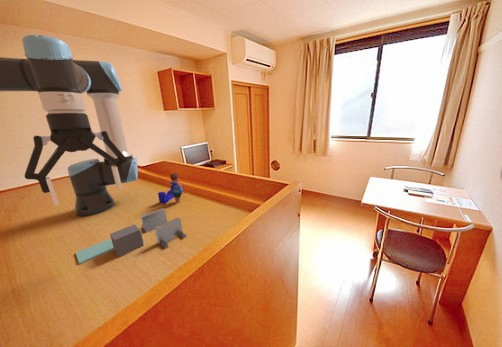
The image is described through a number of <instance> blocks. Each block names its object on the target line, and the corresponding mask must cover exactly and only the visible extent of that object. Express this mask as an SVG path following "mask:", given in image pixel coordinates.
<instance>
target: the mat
mask: <svg viewBox="0 0 502 347" xmlns="http://www.w3.org/2000/svg"><path fill="white" fill-rule="evenodd" d="M111 251H115V250H114V247H113V243H112V240H111V238H108V239H106V240H103V241H101V242H99V243H95V244H93V245H91V246H89V247H85V248H83V249H80V250H78V251H75V254H76V255H75V256H76V258H77V261H78V264H79V265H82V264H83V263H87V262H88V261H90V260H92V259H93V260H94V259H95V258H97V257H100V256H102V255H105V254H106V253H109V252H111Z"/></svg>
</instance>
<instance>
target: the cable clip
mask: <svg viewBox="0 0 502 347" xmlns="http://www.w3.org/2000/svg"><path fill="white" fill-rule="evenodd" d="M172 189H173V186H172V184H171V185H170V190H168V191H167V192H166V191H159V192H157V197H158V200H159V201H158V202H159V204H160V203H163V204H164V205H165V204H167V203H168V202H170V201H171V200H172V199H174V195H173V193H172Z"/></svg>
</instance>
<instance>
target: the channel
mask: <svg viewBox="0 0 502 347" xmlns="http://www.w3.org/2000/svg"><path fill="white" fill-rule="evenodd" d="M140 218H141V221H142V224H141V228H142V229H143V230H144V232H145V233H148V232H151V231H153V230H154V232H155V235H156V236H155V237H156V240H157V244H158V245H160V246H161V247H162V248H163V249H167V248H169V244H168V242H170V241H172V240H174V239H176V238H178V237H181V238H182V239H183V240H184V239H185V238H187V237H188V235H187V234H185V233H184V232H183V226H182V220H181V218H180V217H175V218H173V219H170V220H169V221H168V218H167V212H166V208H164V207H162V208H159V209H156V210H153V211H151V212H148V213H145V214H143V215H140Z"/></svg>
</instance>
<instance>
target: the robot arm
mask: <svg viewBox="0 0 502 347" xmlns="http://www.w3.org/2000/svg"><path fill="white" fill-rule="evenodd" d="M21 42H22V45H23V51H24V56H25V57H26V58H16V57H5V56H3V57H2V56H1V57H0V92H37V94H38V96H39V99H40V102H41V106H42V109H43V111H44V112H46V113H47V114H46V115H45V117H46V122H47V125H48V128H49V131H50V134H49V135H50V136H49V135H48V136H47V135H46V136H45V135H44V136H43V135H41V136H40V135H34V136H33V138H32V139H33V143H34V144H33V149H32V152H31V155H30V158H29V161H28V164H27V166H26V169H25V172H24V178H25V179H26V180H35V181H38V183H39V186H40V189H41V191H42V192H43V194H47V193H49V194H50V196H51V199H52V203H53V204H54V206H58V205H60V202H59V200H58V197H57V194H56V191H55V188H54V186H53V183H52V180H51V178H50V177H49V176H48V175H49V174H50V173H51V170H52V169H53V168H54V166H55V165H56V164H57V163H58V161H59V160H60V159H61V158H62V156H63V155H64V154H65V153H66V152H67V153H75V152H78V151H81V152H84V151H86V152H87V150H89V149H90V150H92V151H93V152H95V153H97V154H98V155H99V156H100V157H102V158H103V161H100V160H99V158H91V159H87V160H83V161H82V160H81V161H79V162H75V163H73V164H70V165H69V166H68V167H67V173H68V177H69V179H70V182H71V186H72V189H73V192H74V195H75V204H74V211H75V215H77V216H82V217H83V216H90V215H95V214H100V213H102V212H105V211H107V210H109V209H112V208H113V207H114V206H115V204H116V201H115V199H114V198H113V197H112V195H111V194H110V192H109V191H108V189H107V186H113V185H115V186H116V188H118V189H119V190H120V189H123V186H122V184H128V183H130V182H131V183H132V182H135V181H137V180H138V177H139V176H138V174H139V173H138V170H139V169H138V159H137V157H133V153H131V152H129V150H128V146H127V142H126V137H125V133H124V132H125V131H124V128H123V124H122V120H121V115H120V111H119V106H118V102H117V99H118V98H119V97H120V92H122V91H123V89H122V83H121V81H120V78H119V75H118V74H117V70H116V68H115V67H114V65H113V64H112V63H111V62H107V61H101V60H79V59H78V60H77V59H74V56H73V54H72V53H71V50H70V47H69V45H68V43H67V42H65V41H63V40H61V39H59V38H56V37H52V36H48V35H47V36H46V35H42V34H27V35H25V36H23V38H22V40H21ZM84 93H86V94H87V95H86V96H88V97H90V98H91V99H92V101H93V105H94V109H95V114H96V116H97V121H98V125H99V129H100V131H98V132H97V131H96V132H94V131H93V130H92V128H91V124H90V123H91V122H90V119H89V116H88V114H87V113H85V111H86V110H87V109H86V104H85V102H84V98H83V95H82V94H84ZM96 138H98V140H100V141H102V142H103V145H104V149H105V150H103V149H101V148H100V146H97V145H96V144H94V143H93V142H94V141H95V139H96ZM48 142H52V143H53V144H55V145H56V146H57V147H56V149H55V150H54V152H53V153H52V154H51V156H50V157H49V158H48V160H46V163H44V164H43V167H42V168H41V169H40V170H39V172H38V173H35V172H36V169H37V166H38V163H39V160H40V158H41V155H42V153H43V148H44V147H45V146H48Z"/></svg>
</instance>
